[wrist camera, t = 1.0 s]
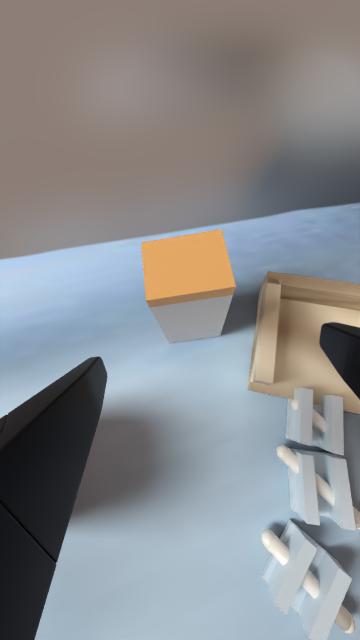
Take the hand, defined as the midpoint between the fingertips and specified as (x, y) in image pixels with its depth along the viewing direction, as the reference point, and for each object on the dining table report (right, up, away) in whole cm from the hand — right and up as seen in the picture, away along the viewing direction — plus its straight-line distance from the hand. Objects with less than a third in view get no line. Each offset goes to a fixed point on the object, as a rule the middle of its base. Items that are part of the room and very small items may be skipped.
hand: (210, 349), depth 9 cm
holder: (+11, -1, +11) cm, 16 cm away
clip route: (+9, -12, +8) cm, 16 cm away
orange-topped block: (0, +1, +13) cm, 13 cm away
